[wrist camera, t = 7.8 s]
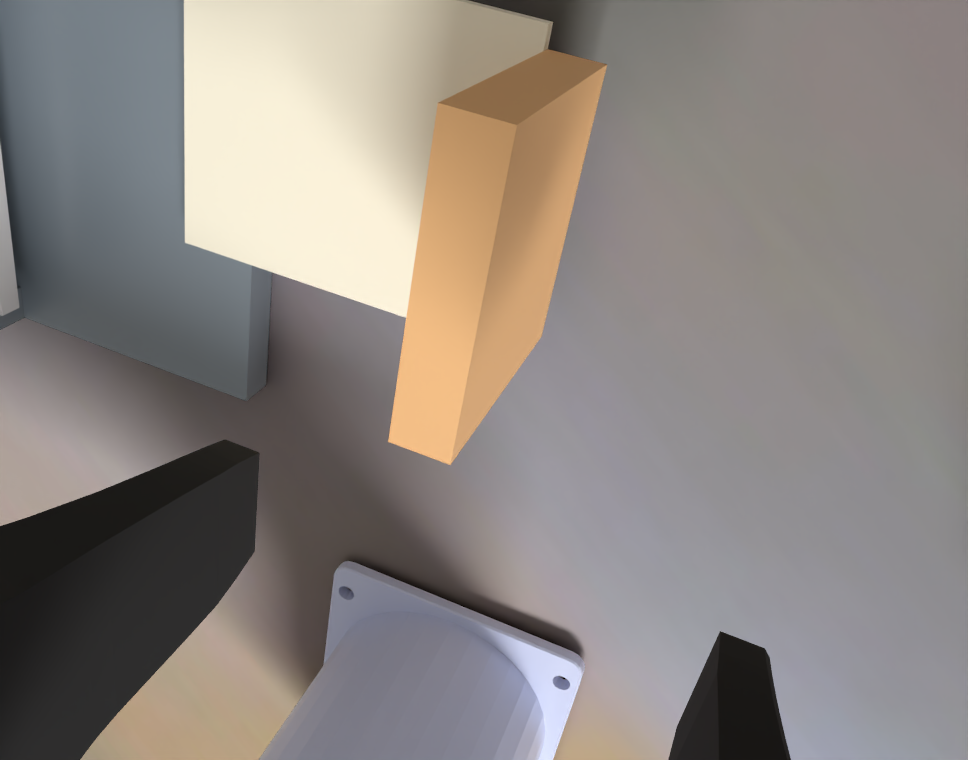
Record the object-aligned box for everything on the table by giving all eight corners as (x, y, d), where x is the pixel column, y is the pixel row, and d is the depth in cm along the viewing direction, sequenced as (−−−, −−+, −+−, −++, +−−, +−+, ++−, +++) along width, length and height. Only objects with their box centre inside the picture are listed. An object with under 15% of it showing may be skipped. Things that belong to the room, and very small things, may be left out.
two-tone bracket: (614, 37, 17) (524, 89, 12) (537, 355, 20) (446, 487, 16) (192, -70, 18) (-23, -61, 14) (192, 238, 22) (22, 326, 18)
